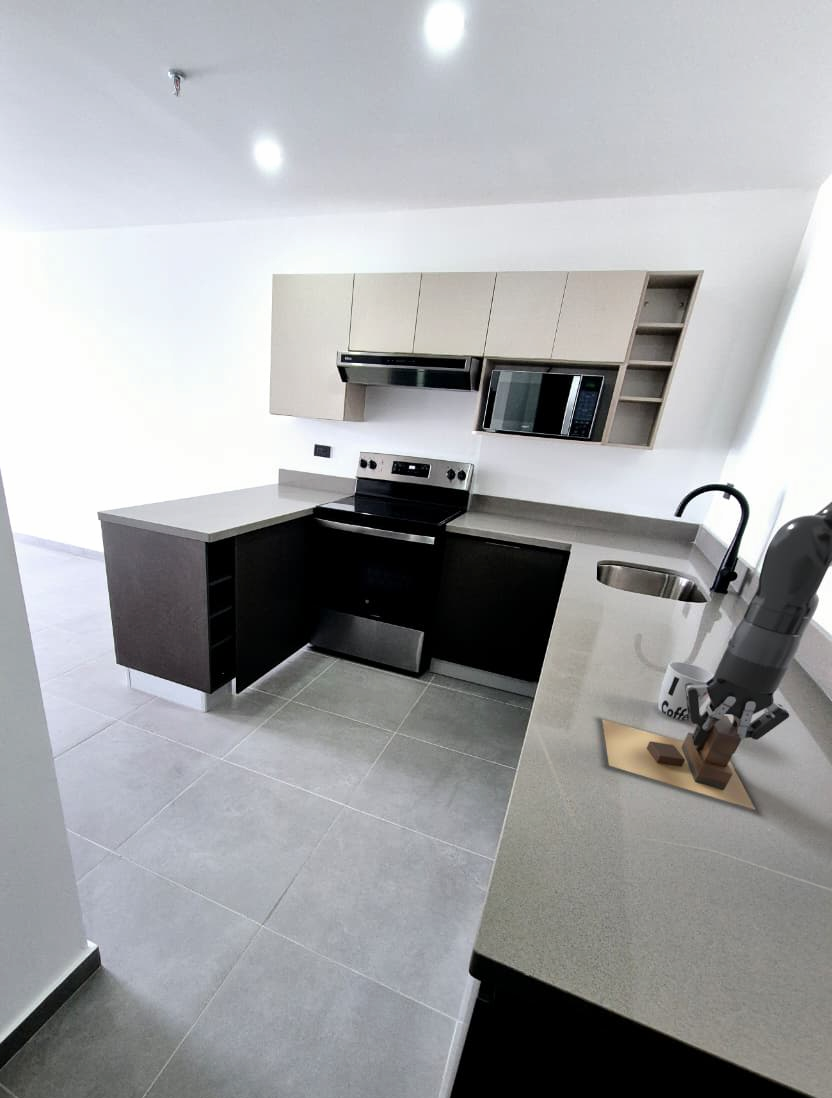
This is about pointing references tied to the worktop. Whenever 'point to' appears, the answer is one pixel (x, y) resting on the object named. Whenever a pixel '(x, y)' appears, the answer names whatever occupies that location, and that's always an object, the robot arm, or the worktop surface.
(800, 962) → the worktop surface
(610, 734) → the board
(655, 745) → the small brown wooden tile
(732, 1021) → the worktop surface
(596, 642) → the worktop surface
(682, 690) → the cup
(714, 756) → the stepped wooden block
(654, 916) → the worktop surface
